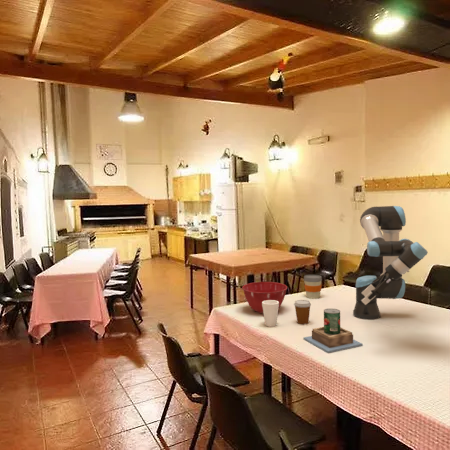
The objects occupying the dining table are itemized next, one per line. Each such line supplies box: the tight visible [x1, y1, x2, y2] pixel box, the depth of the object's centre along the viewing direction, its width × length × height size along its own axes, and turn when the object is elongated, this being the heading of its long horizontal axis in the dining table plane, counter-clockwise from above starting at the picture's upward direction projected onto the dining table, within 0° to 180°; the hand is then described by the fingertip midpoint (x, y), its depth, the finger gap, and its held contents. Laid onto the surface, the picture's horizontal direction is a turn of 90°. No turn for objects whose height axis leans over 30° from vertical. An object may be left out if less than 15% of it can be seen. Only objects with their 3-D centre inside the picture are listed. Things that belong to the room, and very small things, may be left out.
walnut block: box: [311, 326, 354, 348], centre depth 196 cm, size 14×14×5 cm
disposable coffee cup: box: [293, 299, 312, 325], centre depth 228 cm, size 10×10×12 cm
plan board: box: [303, 335, 364, 354], centre depth 196 cm, size 20×20×1 cm
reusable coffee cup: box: [303, 274, 323, 300], centre depth 283 cm, size 13×13×15 cm
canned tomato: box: [323, 308, 341, 335], centre depth 195 cm, size 8×8×11 cm
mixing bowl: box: [241, 281, 288, 314], centre depth 255 cm, size 28×28×15 cm
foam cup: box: [262, 300, 280, 328], centre depth 226 cm, size 10×9×13 cm
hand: (363, 298), depth 195 cm, fingers open, 13 cm apart
